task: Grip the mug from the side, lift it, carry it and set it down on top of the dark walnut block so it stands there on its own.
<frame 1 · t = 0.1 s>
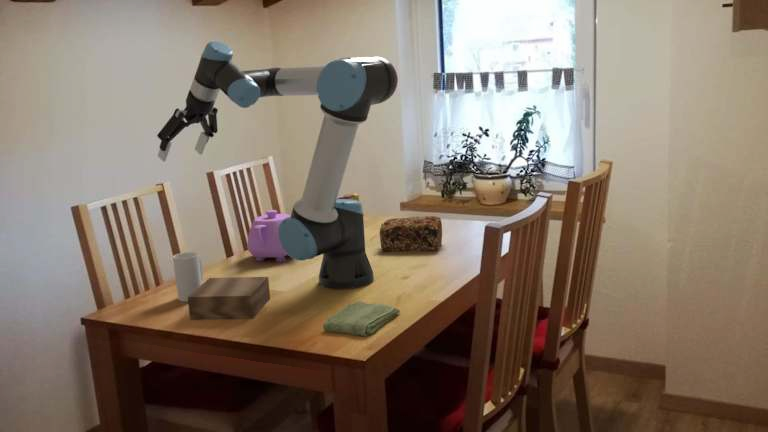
hand: (180, 155, 233), 36 cm above the table, tool tilted 35°, fingers open, 13 cm apart
walnut block: (231, 308, 205), on the table
bread: (411, 248, 255), on the table
washcloth: (361, 324, 190), on the table
mug: (194, 297, 218), on the table
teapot: (279, 259, 252), on the table
candy box: (347, 240, 270), on the table
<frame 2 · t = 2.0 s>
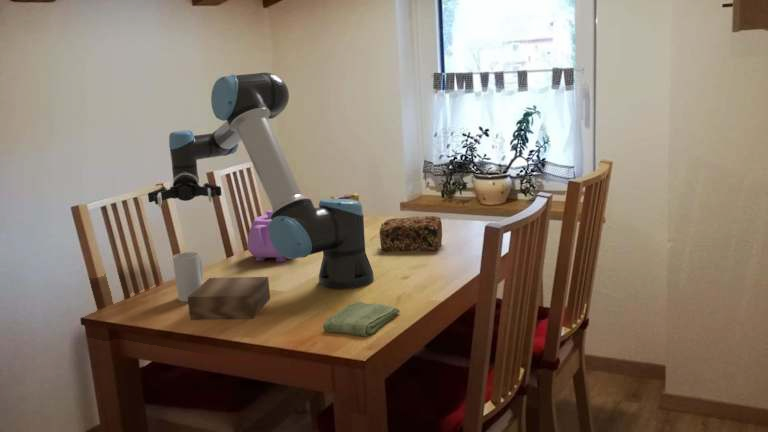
hand: (184, 199, 221), 25 cm above the table, tool horizontal, fingers open, 13 cm apart
nothing on the table moved.
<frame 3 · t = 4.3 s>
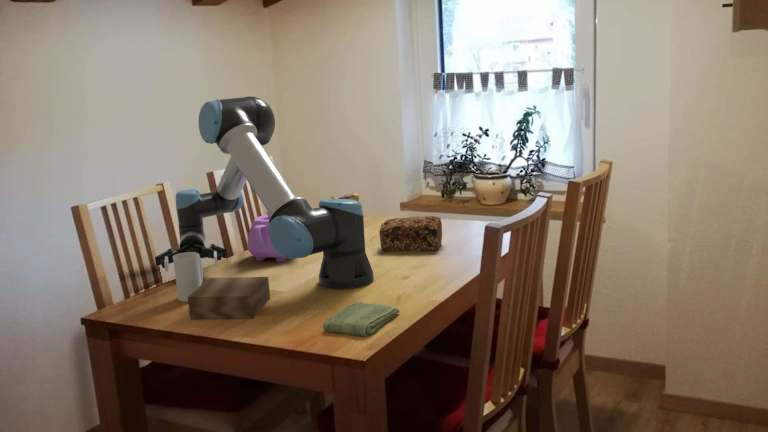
hand: (191, 264, 224), 7 cm above the table, tool horizontal, fingers open, 13 cm apart
nothing on the table moved.
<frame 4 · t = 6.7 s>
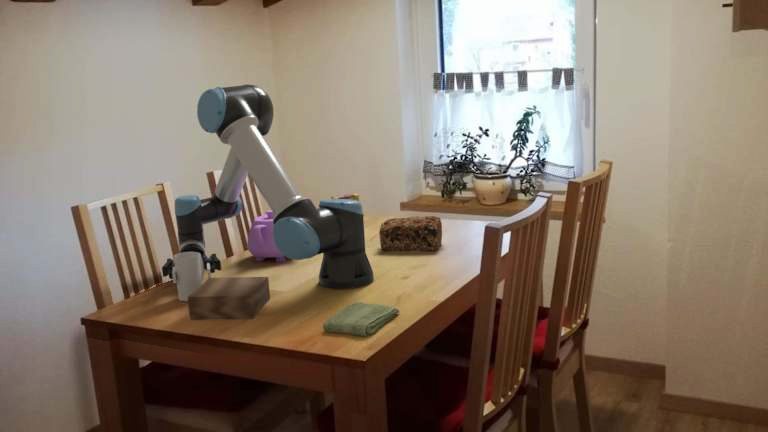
hand: (191, 276, 212), 7 cm above the table, tool horizontal, fingers open, 8 cm apart
mug: (194, 297, 218), on the table, touching gripper
everything else where it was.
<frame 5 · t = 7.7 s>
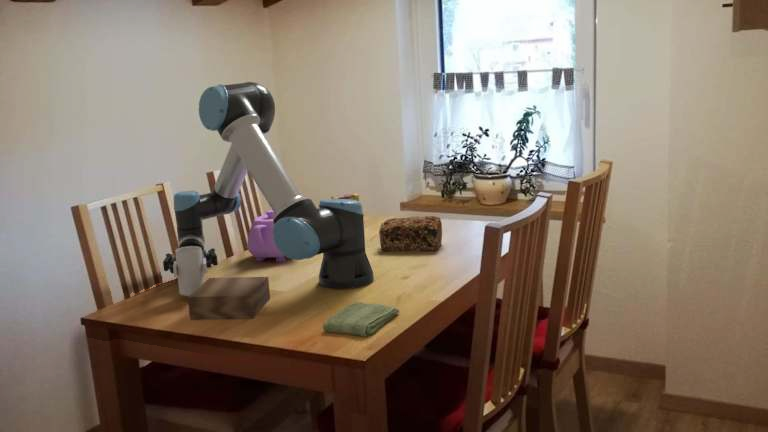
hand: (190, 270, 211), 9 cm above the table, tool horizontal, fingers closed on mug, 7 cm apart
mug: (195, 291, 217), point 1 cm above the table, touching gripper
everything else where it was.
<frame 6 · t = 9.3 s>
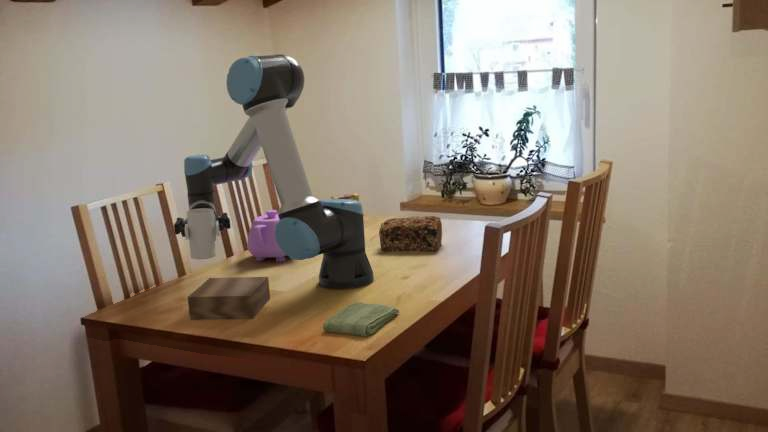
hand: (202, 232, 202), 20 cm above the table, tool horizontal, fingers closed on mug, 7 cm apart
mug: (207, 255, 208), point 13 cm above the table, touching gripper
everything else where it was.
when the fingers open (15 cm above the table, at t = 11.1 s): mug drops 2 cm, resting on walnut block.
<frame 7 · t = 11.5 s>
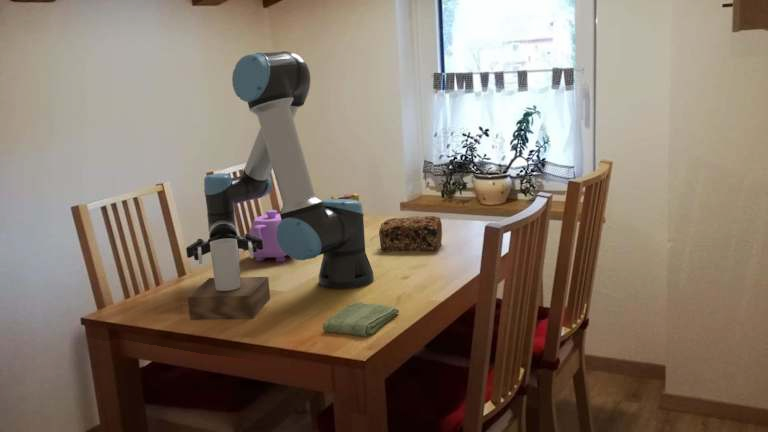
hand: (226, 255, 198), 15 cm above the table, tool horizontal, fingers open, 12 cm apart
mug: (231, 286, 204), point 6 cm above the table, touching walnut block
everything else where it was.
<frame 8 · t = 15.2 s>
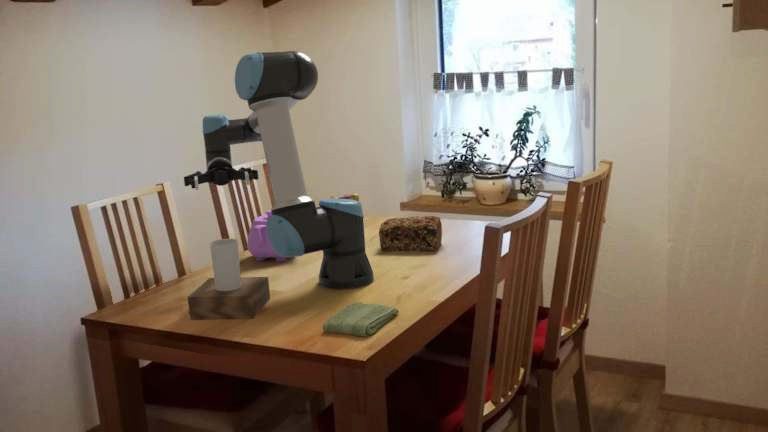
hand: (222, 182, 216), 30 cm above the table, tool horizontal, fingers open, 13 cm apart
nothing on the table moved.
at the end: mug inside the target area on the walnut block (0.6 cm from its centre), point 5.8 cm above the walnut block's base; mug tilted 0°; the gripper is holding nothing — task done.
